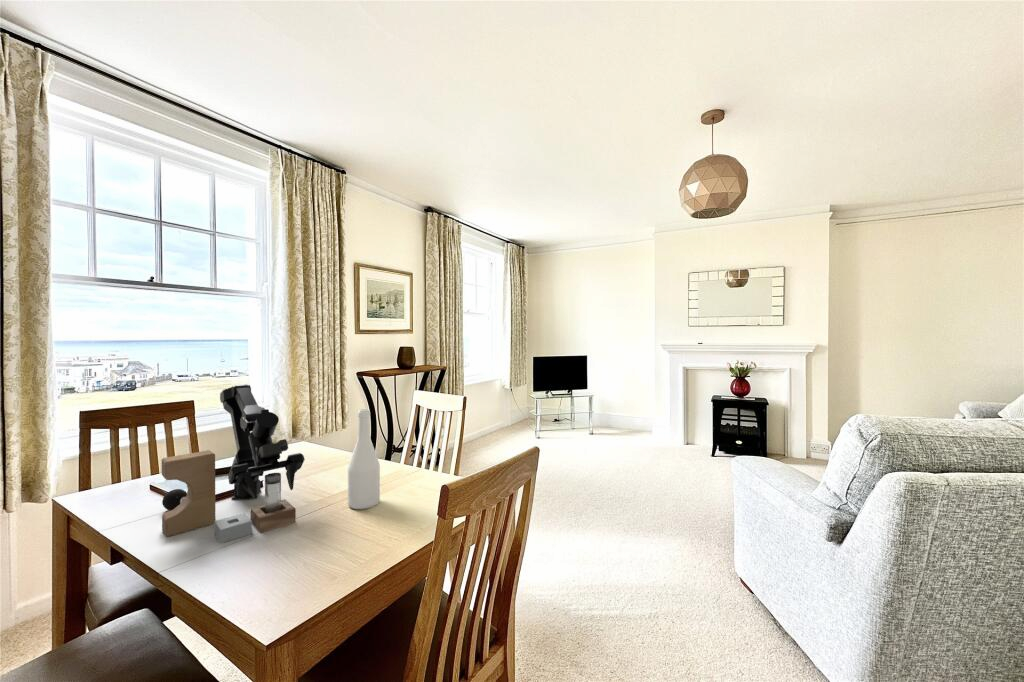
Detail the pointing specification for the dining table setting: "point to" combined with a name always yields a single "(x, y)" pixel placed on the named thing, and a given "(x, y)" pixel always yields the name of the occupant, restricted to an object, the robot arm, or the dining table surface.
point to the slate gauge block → (232, 527)
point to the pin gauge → (272, 492)
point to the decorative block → (191, 492)
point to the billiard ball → (173, 498)
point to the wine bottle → (363, 468)
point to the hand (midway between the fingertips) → (274, 493)
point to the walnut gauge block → (273, 517)
